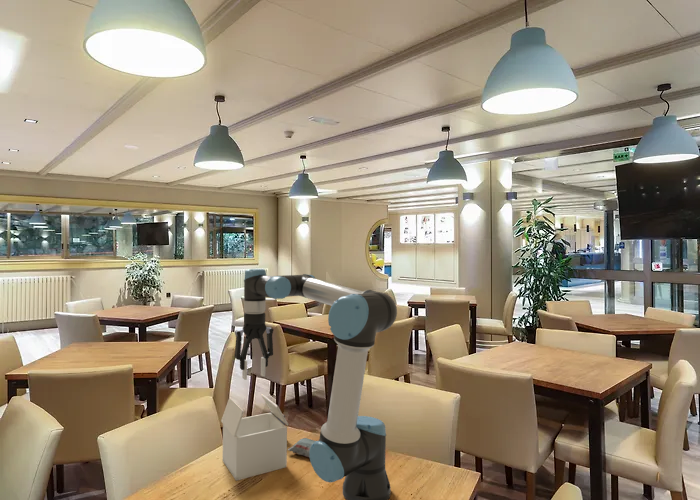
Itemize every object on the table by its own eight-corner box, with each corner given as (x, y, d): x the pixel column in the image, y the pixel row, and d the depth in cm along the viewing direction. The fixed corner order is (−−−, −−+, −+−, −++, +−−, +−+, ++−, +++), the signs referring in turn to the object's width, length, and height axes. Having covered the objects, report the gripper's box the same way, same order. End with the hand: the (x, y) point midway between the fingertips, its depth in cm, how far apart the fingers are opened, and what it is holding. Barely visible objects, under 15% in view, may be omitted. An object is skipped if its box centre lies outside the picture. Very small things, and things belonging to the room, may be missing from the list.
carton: (286, 466, 153) (287, 427, 153) (236, 480, 144) (236, 438, 144) (269, 449, 167) (270, 412, 167) (222, 460, 157) (223, 421, 157)
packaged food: (313, 463, 157) (313, 449, 157) (286, 455, 163) (287, 441, 163) (326, 453, 164) (326, 440, 164) (300, 446, 170) (301, 433, 170)
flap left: (244, 411, 145) (242, 410, 145) (235, 437, 144) (233, 436, 144) (230, 397, 158) (229, 397, 158) (222, 421, 157) (220, 421, 157)
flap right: (287, 425, 154) (288, 424, 154) (276, 406, 152) (277, 405, 152) (271, 411, 167) (272, 410, 167) (260, 394, 164) (262, 393, 165)
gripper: (275, 309, 163) (275, 371, 163) (225, 312, 153) (224, 378, 153) (283, 311, 157) (282, 376, 157) (231, 315, 147) (230, 384, 147)
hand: (253, 377), depth 155 cm, fingers open, 6 cm apart
